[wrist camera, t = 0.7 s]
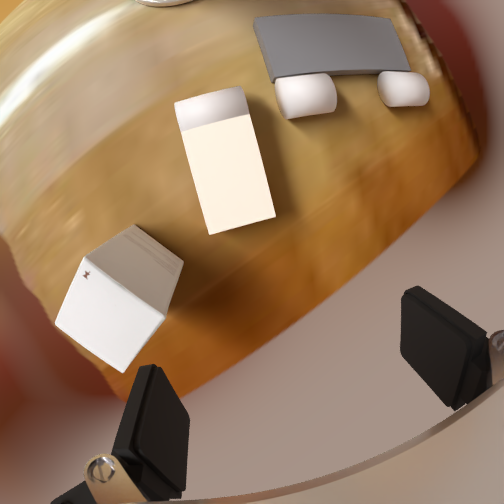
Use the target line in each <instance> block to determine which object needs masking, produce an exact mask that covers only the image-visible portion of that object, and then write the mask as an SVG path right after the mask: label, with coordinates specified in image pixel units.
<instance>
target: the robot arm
mask: <svg viewBox="0 0 504 504" xmlns="http://www.w3.org/2000/svg"><path fill="white" fill-rule="evenodd" d="M135 1H137V2H139V3H140V4H144V5H147V6H156V7H157V6H172V5H178V4H182V3H186V2H189V1H192V0H135ZM486 334H487V332H486V331H485V330H483V329H482V328H480V327H479V326H478V325H476V324H475V323H473V322H472V321H471V320H469V319H468V318H466V317H465V316H463V315H462V314H461V313H459V312H458V311H456V310H455V309H453V308H452V307H450V306H449V305H447V304H446V303H444V302H443V301H441V300H440V299H438V298H437V297H435V296H434V295H432V294H431V293H429V292H428V291H426V290H425V289H423V288H421V287H420V286H415V287H413V288H410V289H408V290H406V291H405V292H404V295H403V296H402V298H401V342H400V351H401V355H402V357H403V358H404V359H405V360H406V361H407V362H408V363H409V364H410V366H411V367H412V368H413V369H414V370H415V371H416V372H417V373H418V374H419V376H420V377H421V378H422V379H423V380H424V381H425V382H426V383H427V385H428V386H429V387H430V388H431V389H432V390H433V391H434V392H435V394H436V395H437V396H438V397H439V398H440V400H441V401H442V402H443V403H444V404H445V405H446V406H447V407H450V406H451V408H452V409H453V410H454V411H456V410H457V409H459V408H460V407H462V406H463V405H465V403H466V404H467V405H466V406H465V407H463V408H462V409H460V410H459V411H457V412H456V413H454V414H453V415H451V416H450V417H448V418H446V419H445V420H443V421H442V422H440V423H438V424H437V425H435V426H433V427H432V428H430V429H428V430H427V431H425V432H423V433H421V434H420V435H418V436H416V437H414V438H412V439H411V440H409V441H407V442H405V443H403V444H401V445H399V446H397V447H395V448H393V449H391V450H388V451H386V452H384V453H382V454H380V455H378V456H376V457H373V458H371V459H369V460H366V461H364V462H361V463H358V464H356V465H353V466H351V467H349V468H345V469H343V470H340V471H337V472H334V473H331V474H328V475H325V476H322V477H319V478H316V479H312V480H309V481H305V482H301V483H298V484H294V485H290V486H285V487H281V488H277V489H272V490H267V491H262V492H257V493H251V494H245V495H238V496H231V497H222V498H212V499H200V500H184V501H169V499H181V496H182V491H185V489H186V474H187V456H188V440H189V439H188V438H189V427H190V425H189V424H190V418H189V415H188V413H187V411H186V409H185V408H184V406H183V404H182V403H181V401H180V399H179V398H178V396H177V394H176V393H175V391H174V389H173V387H172V386H171V384H170V382H169V380H168V379H167V377H166V375H165V373H164V371H163V369H162V368H161V367H157V366H156V365H155V364H151V365H145V366H140V367H139V369H138V372H137V375H136V378H135V381H134V383H133V386H132V389H131V392H130V395H129V398H128V401H127V404H126V407H125V410H124V413H123V416H122V420H121V422H120V425H119V429H118V432H117V436H116V438H115V442H114V446H113V449H112V453H111V455H110V454H99V455H97V456H94V457H93V458H92V459H90V460H89V461H88V462H87V464H86V466H85V468H84V473H83V475H84V479H85V481H83V482H82V483H80V484H79V485H77V486H76V487H74V488H72V489H71V490H69V491H67V492H66V493H64V494H63V495H61V496H59V497H58V498H56V499H54V500H53V501H52V502H51V504H504V330H499V331H496V332H494V333H493V334H492V335H491V336H490V338H489V339H488V338H487V337H486Z"/></svg>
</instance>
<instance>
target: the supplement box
mask: <svg viewBox="0 0 504 504" xmlns="http://www.w3.org/2000/svg"><path fill="white" fill-rule="evenodd" d="M183 264H184V261H183V260H181V259H180V258H178V257H177V256H176V255H175V254H173V253H172V252H170V251H169V250H168V249H166V248H165V247H164V246H162V245H161V244H160V243H158V242H157V241H156V240H154V239H153V238H152V237H150V236H149V235H148V234H146V233H145V232H144V231H142V230H141V229H140V228H138V227H137V226H136V225H132V226H130V227H129V228H127V229H125V230H124V231H122V232H121V233H119V234H118V235H116V236H114V237H113V238H111V239H110V240H108V241H107V242H105V243H104V244H102V245H101V246H99V247H98V248H96V249H95V250H93V251H92V252H90V253H89V254H87V255H86V256H84V257H83V260H82V262H81V264H80V266H79V268H78V270H77V272H76V274H75V277H74V279H73V281H72V283H71V286H70V288H69V290H68V293H67V295H66V297H65V300H64V302H63V304H62V307H61V309H60V311H59V314H58V316H57V319H56V321H55V325H56V326H57V327H59V328H60V329H61V330H62V331H64V332H65V333H66V334H68V335H69V336H70V337H72V338H73V339H74V340H76V341H77V342H78V343H79V344H81V345H82V346H84V347H85V348H86V349H88V350H89V351H90V352H92V353H93V354H95V355H96V356H98V357H99V358H101V359H102V360H103V361H105V362H106V363H108V364H109V365H111V366H112V367H114V368H115V369H117V370H119V371H120V372H122V373H124V371H125V370H126V368H127V367H128V366H129V365H130V363H131V362H132V361H133V359H134V358H135V357H136V355H137V354H138V353H139V352H140V350H141V349H142V348H143V346H144V345H145V344H146V343H147V341H148V340H149V339H150V338H151V336H152V335H153V334H154V333H155V331H156V330H157V329H158V327H159V326H160V325H161V324H162V322H163V321H164V320H165V319H166V315H167V310H168V307H169V304H170V301H171V298H172V295H173V292H174V290H175V287H176V284H177V282H178V279H179V276H180V273H181V270H182V267H183Z"/></svg>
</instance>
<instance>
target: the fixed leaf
mask: <svg viewBox="0 0 504 504" xmlns="http://www.w3.org/2000/svg"><path fill="white" fill-rule="evenodd" d="M253 28H254V31H255V33H256V36H257V39H258V42H259V45H260V48H261V51H262V54H263V57H264V61H265V64H266V67H267V70H268V73H269V77H270V80H271V83H273V82H275V94H276V100H277V104H278V107H279V110H280V112H281V114H282V116H283V117H284V118H285V119H291V118H297V117H303V116H309V115H315V114H322V113H330V112H333V111H334V110H335V108H336V105H337V94H336V89H335V86H334V83H333V81H332V79H331V78H330V76H333V75H351V74H380V75H379V77H378V80H377V88H378V93H379V96H380V98H381V100H382V101H383V103H384V104H386V105H387V106H389V107H397V106H423V105H425V104H426V103H427V102H428V100H429V95H430V91H429V86H428V83H427V81H426V79H425V78H424V77H423V76H422V75H421V74H419V73H414V72H409V71H411V69H410V66H409V64H408V61H407V58H406V55H405V53H404V50H403V48H402V45H401V43H400V40H399V38H398V35H397V33H396V31H395V29H394V26H393V24H392V22H391V20H390V19H388V18H380V17H372V16H361V15H347V14H291V15H276V16H266V17H257V18H255V19H254V23H253Z"/></svg>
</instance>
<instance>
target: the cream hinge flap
mask: <svg viewBox="0 0 504 504" xmlns="http://www.w3.org/2000/svg"><path fill="white" fill-rule="evenodd" d="M175 111H176V116H177V120H178V124H179V127H180V131H181V134H182V138H183V142H184V146H185V149H186V153H187V157H188V161H189V164H190V168H191V172H192V176H193V179H194V183H195V186H196V190H197V194H198V197H199V201H200V204H201V208H202V211H203V215H204V218H205V222H206V225H207V228H208V232H209V235H211V234H214V233H218V232H221V231H225V230H229V229H232V228H236V227H240V226H243V225H247V224H251V223H254V222H258V221H262V220H265V219H269V218H273V217H276V215H275V211H274V207H273V203H272V199H271V194H270V190H269V186H268V182H267V178H266V175H265V171H264V167H263V163H262V159H261V155H260V151H259V147H258V144H257V140H256V136H255V132H254V129H253V125H252V121H251V118H250V114H249V109H248V105H247V101H246V97H245V94H244V92H243V89H242V87H241V86H236V87H232V88H227V89H223V90H219V91H215V92H211V93H207V94H203V95H199V96H196V97H192V98H189V99H185V100H182V101H179V102H175Z"/></svg>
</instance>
